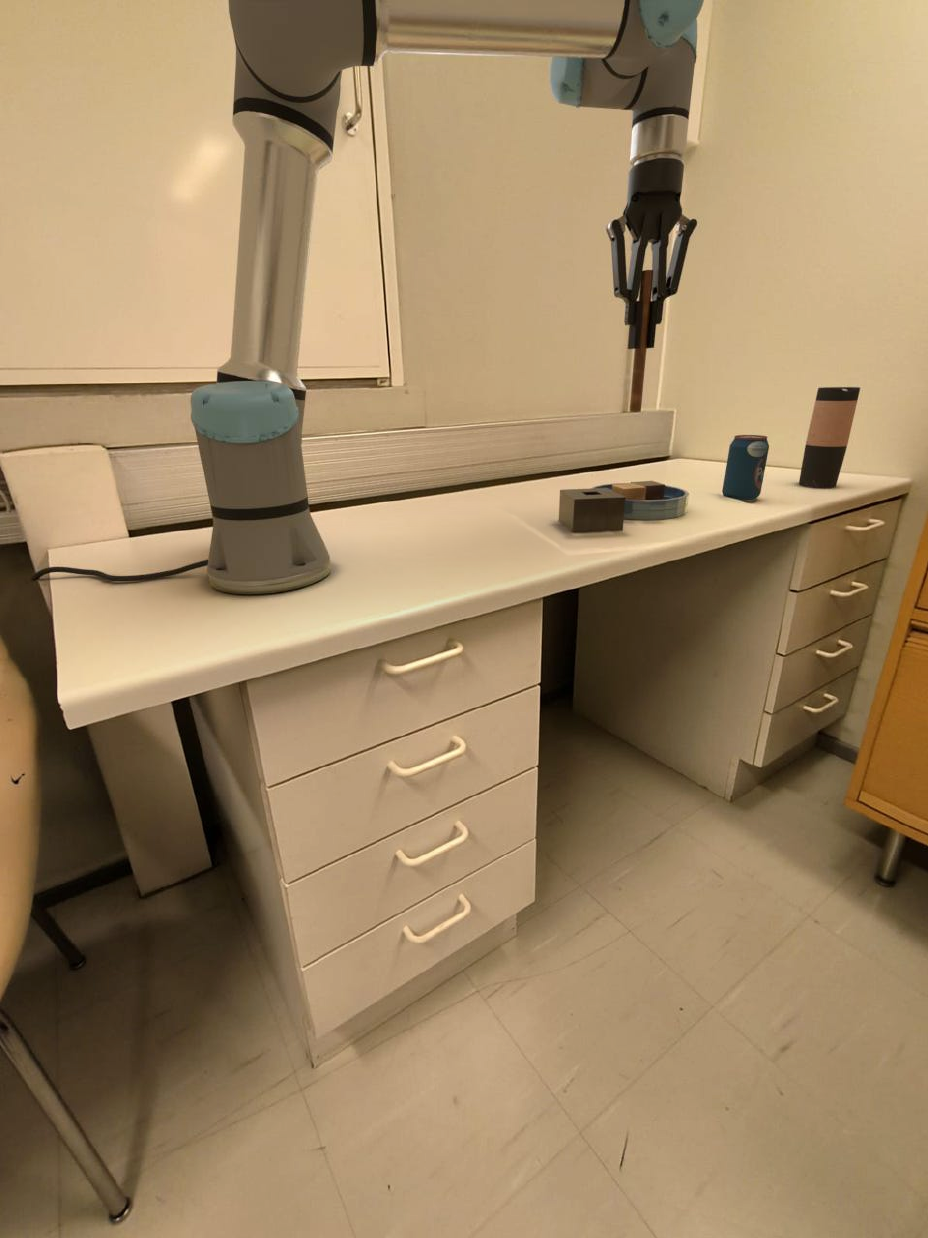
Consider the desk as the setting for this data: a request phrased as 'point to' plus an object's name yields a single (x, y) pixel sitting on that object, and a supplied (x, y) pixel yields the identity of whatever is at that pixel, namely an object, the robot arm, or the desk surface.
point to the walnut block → (652, 490)
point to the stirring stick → (641, 342)
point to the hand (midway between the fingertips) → (640, 347)
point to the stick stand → (591, 510)
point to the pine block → (630, 491)
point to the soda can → (745, 467)
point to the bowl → (656, 505)
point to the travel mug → (828, 436)
